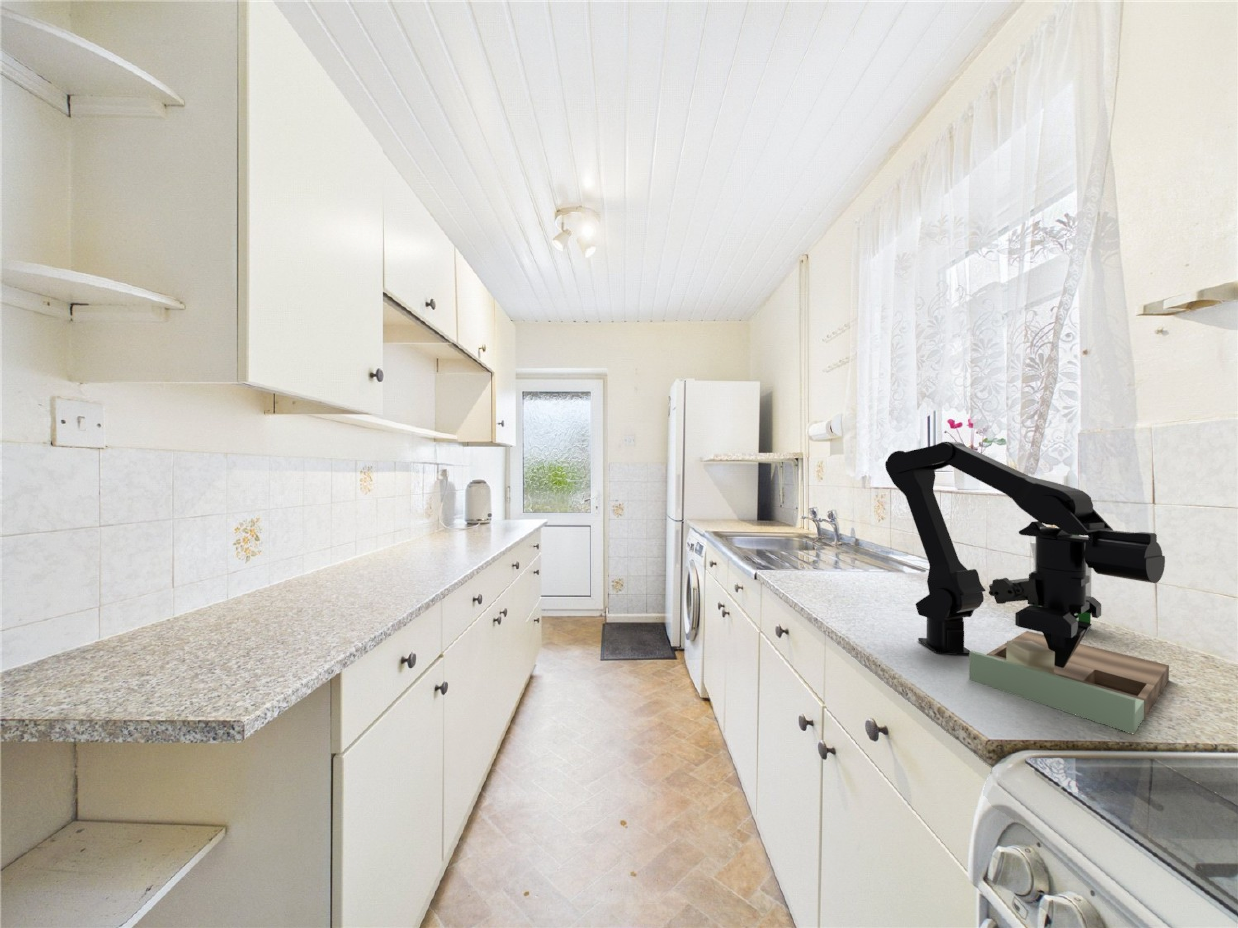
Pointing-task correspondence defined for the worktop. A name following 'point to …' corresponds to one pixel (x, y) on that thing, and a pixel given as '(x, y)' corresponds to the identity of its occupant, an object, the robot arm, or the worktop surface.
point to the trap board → (1106, 670)
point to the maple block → (1030, 655)
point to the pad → (1058, 692)
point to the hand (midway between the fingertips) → (1059, 666)
